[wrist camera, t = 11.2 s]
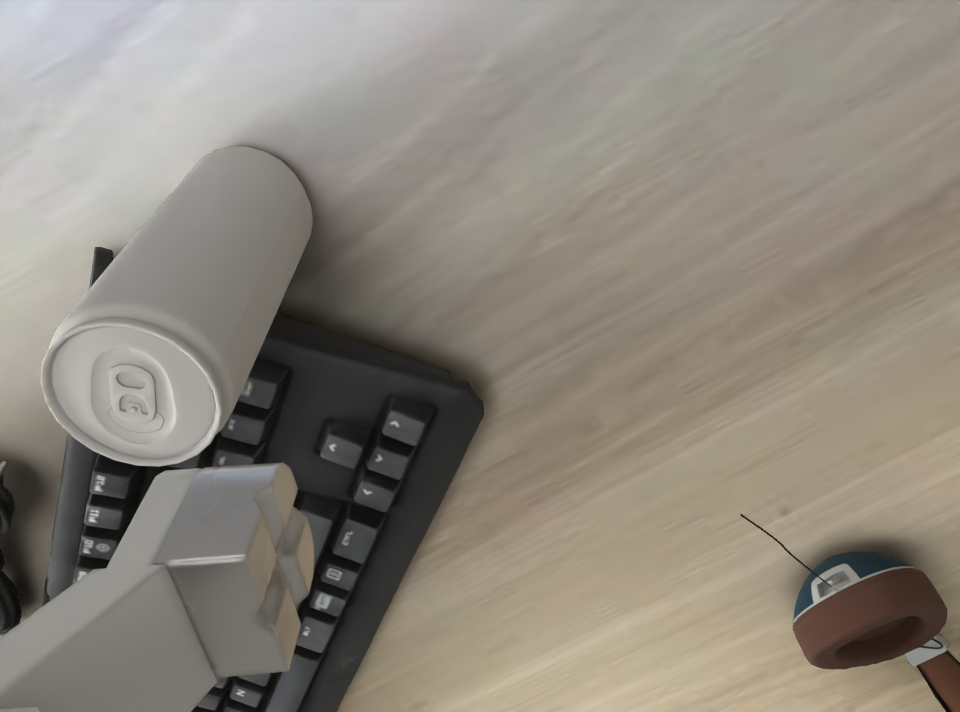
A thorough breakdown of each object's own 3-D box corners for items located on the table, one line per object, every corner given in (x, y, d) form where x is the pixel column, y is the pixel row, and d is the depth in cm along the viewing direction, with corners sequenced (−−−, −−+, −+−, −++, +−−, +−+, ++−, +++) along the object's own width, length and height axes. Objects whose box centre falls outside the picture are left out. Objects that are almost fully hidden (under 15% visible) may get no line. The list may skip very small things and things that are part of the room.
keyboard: (282, 812, 55) (264, 891, 51) (-84, 725, 51) (-133, 804, 47) (499, 365, 36) (497, 438, 32) (-62, 174, 32) (-143, 230, 28)
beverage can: (186, 251, 33) (45, 457, 23) (182, 129, 31) (21, 303, 21) (313, 270, 34) (227, 482, 24) (320, 151, 31) (226, 333, 21)
